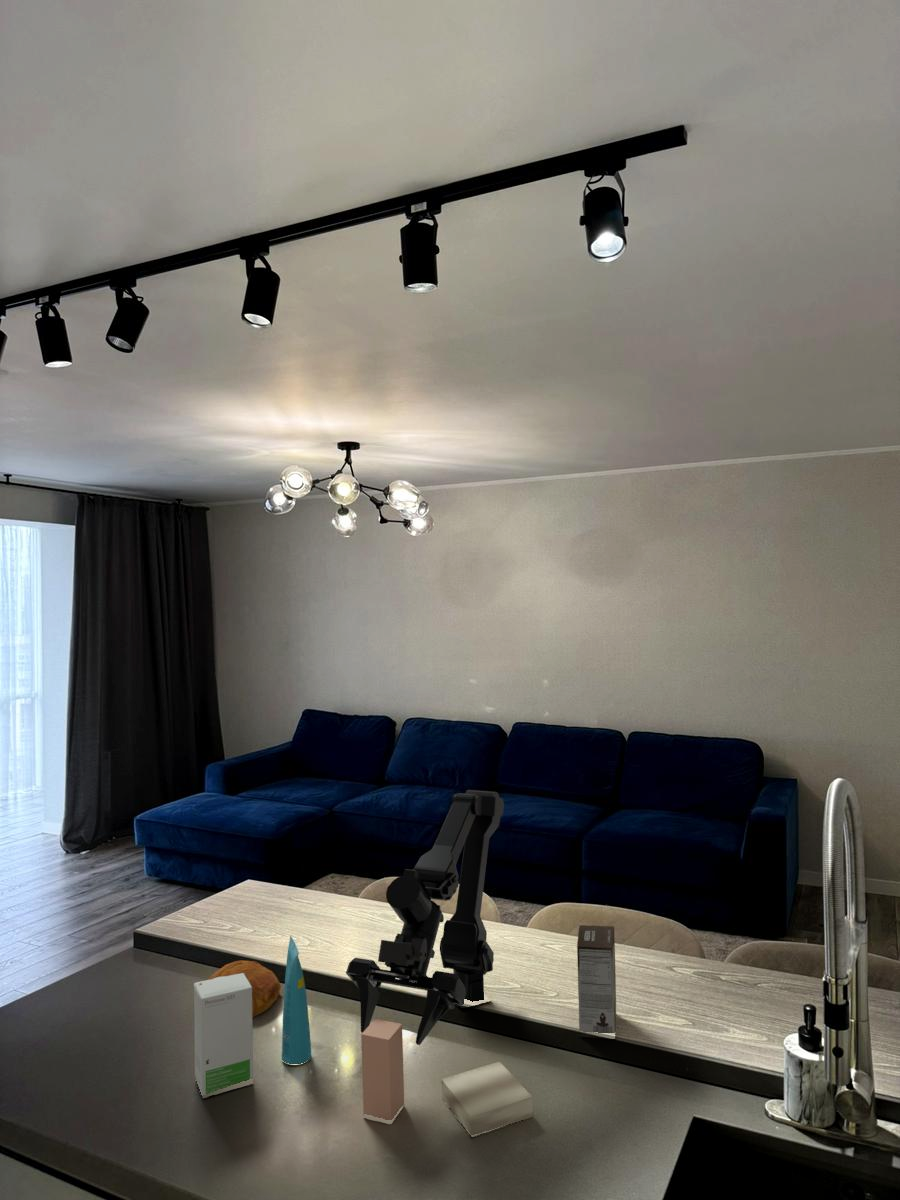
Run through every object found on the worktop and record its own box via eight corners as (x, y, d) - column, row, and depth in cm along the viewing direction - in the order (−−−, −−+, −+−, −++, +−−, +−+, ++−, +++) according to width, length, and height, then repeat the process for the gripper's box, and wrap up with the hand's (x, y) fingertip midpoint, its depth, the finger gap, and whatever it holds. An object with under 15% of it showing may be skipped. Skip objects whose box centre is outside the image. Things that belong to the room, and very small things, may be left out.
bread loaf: (186, 1027, 150) (179, 987, 148) (237, 978, 164) (232, 941, 163) (250, 1040, 144) (244, 998, 143) (298, 987, 158) (292, 949, 157)
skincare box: (201, 1101, 124) (198, 1000, 124) (193, 1078, 130) (190, 982, 129) (256, 1084, 128) (253, 986, 127) (246, 1063, 133) (243, 969, 133)
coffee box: (580, 1011, 147) (578, 923, 147) (616, 1013, 146) (614, 925, 146) (578, 1038, 138) (576, 945, 138) (616, 1041, 137) (614, 947, 137)
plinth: (442, 1098, 123) (441, 1079, 123) (499, 1080, 127) (499, 1061, 127) (471, 1138, 114) (470, 1117, 114) (532, 1116, 118) (532, 1096, 118)
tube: (317, 1065, 132) (313, 949, 132) (287, 1074, 130) (284, 955, 130) (304, 1043, 139) (301, 932, 139) (276, 1051, 137) (273, 938, 137)
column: (377, 1100, 123) (375, 1018, 123) (404, 1106, 121) (402, 1024, 121) (363, 1118, 119) (361, 1034, 118) (391, 1125, 117) (388, 1039, 117)
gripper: (350, 907, 130) (315, 1008, 120) (457, 922, 124) (430, 1030, 113) (373, 937, 138) (343, 1034, 128) (476, 952, 131) (452, 1057, 121)
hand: (389, 1038), depth 122 cm, fingers open, 9 cm apart
